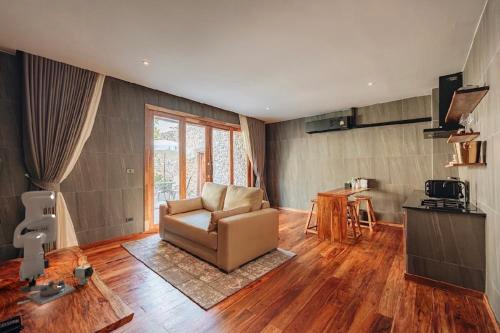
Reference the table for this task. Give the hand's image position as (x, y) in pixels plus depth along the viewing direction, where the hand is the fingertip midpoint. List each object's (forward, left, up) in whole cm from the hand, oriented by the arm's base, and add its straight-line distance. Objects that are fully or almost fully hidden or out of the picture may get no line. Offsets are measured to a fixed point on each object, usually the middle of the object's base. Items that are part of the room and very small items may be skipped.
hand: (32, 287), depth 131 cm
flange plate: (+12, +2, -4) cm, 13 cm away
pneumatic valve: (+15, +20, -4) cm, 26 cm away
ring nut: (+8, +2, -2) cm, 9 cm away
